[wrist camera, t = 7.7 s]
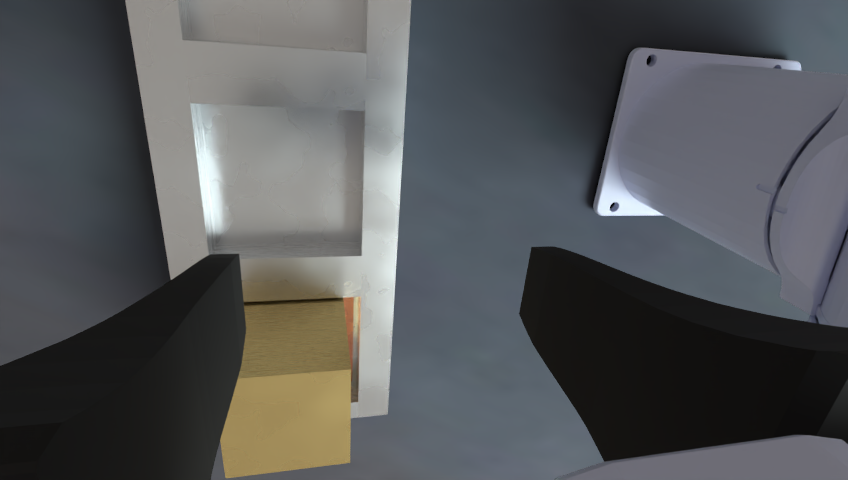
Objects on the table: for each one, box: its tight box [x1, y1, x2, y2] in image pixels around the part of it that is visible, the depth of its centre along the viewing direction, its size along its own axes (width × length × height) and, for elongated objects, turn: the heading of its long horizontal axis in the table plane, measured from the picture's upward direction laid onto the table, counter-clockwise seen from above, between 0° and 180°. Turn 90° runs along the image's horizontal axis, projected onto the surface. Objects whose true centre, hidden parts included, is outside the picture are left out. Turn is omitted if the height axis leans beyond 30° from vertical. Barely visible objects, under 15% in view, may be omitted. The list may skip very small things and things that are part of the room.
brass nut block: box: [220, 298, 351, 478], centre depth 19 cm, size 4×4×6 cm
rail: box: [125, 0, 411, 418], centre depth 19 cm, size 9×24×2 cm, turn 175°
